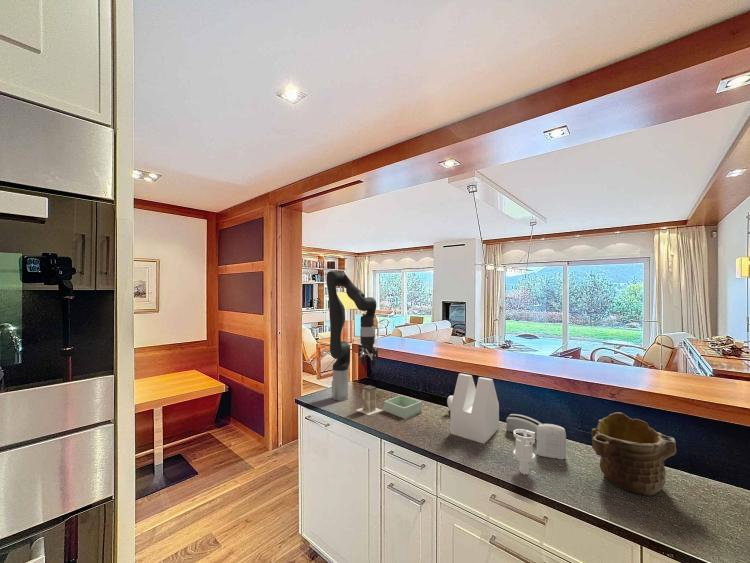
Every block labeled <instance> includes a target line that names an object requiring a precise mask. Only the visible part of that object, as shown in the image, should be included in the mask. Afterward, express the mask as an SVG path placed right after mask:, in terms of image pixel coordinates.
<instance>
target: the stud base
mask: <svg viewBox="0 0 750 563" xmlns="http://www.w3.org/2000/svg"><path fill="white" fill-rule="evenodd" d="M356 411H357V412H360V413H362V414H365V415H367V416H371V415H375V414H377V413H379V412H382V411H383V409H380V408H378V407H376V410H375V411H372V412H366V411H364V410H363V407H360V408H357V409H356Z"/></svg>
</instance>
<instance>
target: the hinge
mask: <svg viewBox="0 0 750 563" xmlns="http://www.w3.org/2000/svg"><path fill="white" fill-rule="evenodd" d="M540 424H543V423H542V422H540V421H539V420H537V419H535V418H532V417H530V416H527V415H523V414H518V413H510V414H509V415H508V416H507V417H506V431H507V430H508V432H510V431H511V433H513V431H514V430H516V429H524V430H529V431H532V432H535V439H537V428H538V425H540ZM519 434H521V435H520V436H522V435H524V433H518V434H517V435H519ZM527 436H528V437H532V436H531V435H529V434H527Z"/></svg>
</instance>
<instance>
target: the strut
mask: <svg viewBox="0 0 750 563" xmlns="http://www.w3.org/2000/svg"><path fill="white" fill-rule="evenodd" d="M362 408H363V410H364V411H366V412H372V411H375V410H376V408H377V387H376V386H374V385H371V384H369V385H366V386H363V387H362Z"/></svg>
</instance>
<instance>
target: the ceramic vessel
mask: <svg viewBox="0 0 750 563" xmlns="http://www.w3.org/2000/svg"><path fill="white" fill-rule="evenodd" d="M597 422H598V423H597V426H596V428H591V440H592V441H591V449H593V450H594V452H595V454H596V455H597V456H600V459H599V468H600V470H601V473H602V474H604V476H605V477H606V478H607V480H608V481H610V482H611V484H613V485H614V486H616V487H618V488H621V489H622V490H625V491H628V492H630V493H637V494H641V495H643V496H654V495H656V494H657V493H659V492H661V491H662V489H663V488H664V486H665V485H666V467H665V463H664V461H666V460H667V459H668V458H671V457H673V456H675V455H676V453H677V447H676V446H677V445H676V443H677V442H676V439H675V438H674V437H672V436H667V435H665V434H662V433H661V432H658V431H656V430H655V429H654V428H652V427H650V425H649V423H648V422H647V421H644V420H642V419H639V418H634V419H633V418H630V417H629V416H628V415H626V414H625V413H623V412H620V411H619V412H618V411H617V412H613V413H610V414H609V415H607V416H605V417H603V418H602V419H601V418H600V419H599V420H598V421H597Z"/></svg>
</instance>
